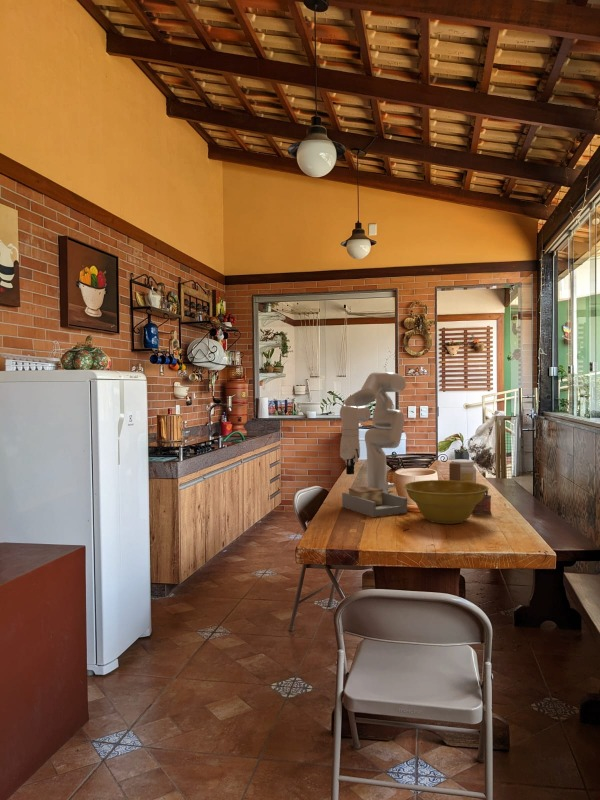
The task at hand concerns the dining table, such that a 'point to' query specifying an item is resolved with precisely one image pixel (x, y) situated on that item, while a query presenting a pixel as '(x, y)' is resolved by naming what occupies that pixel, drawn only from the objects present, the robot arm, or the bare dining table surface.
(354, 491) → the crate
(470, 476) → the supplement tub
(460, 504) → the planter bowl
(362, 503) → the bay
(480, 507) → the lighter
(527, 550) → the dining table surface
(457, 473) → the wooden block
